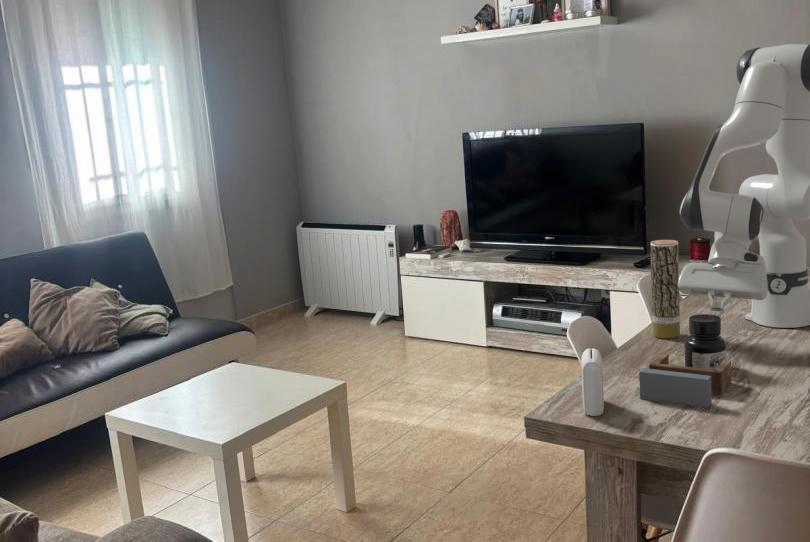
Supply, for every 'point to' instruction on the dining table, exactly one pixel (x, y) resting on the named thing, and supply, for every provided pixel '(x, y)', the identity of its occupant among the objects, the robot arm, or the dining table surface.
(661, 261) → the paper tube
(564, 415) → the dining table surface
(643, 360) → the dining table surface
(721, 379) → the cradle
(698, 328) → the ink bottle
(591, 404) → the photo printer
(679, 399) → the wall
